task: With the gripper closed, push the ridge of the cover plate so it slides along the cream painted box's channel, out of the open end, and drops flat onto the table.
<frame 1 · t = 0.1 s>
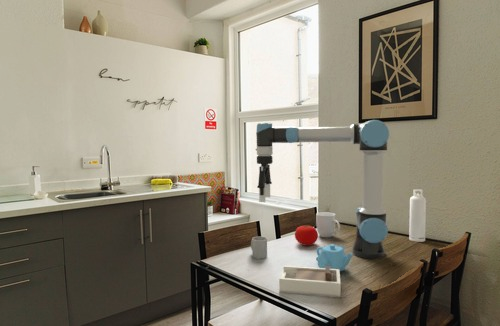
hand: (265, 199, 168), 28 cm above the table, fingers open, 13 cm apart
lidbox: (310, 287, 134), on the table
tomato: (306, 244, 189), on the table
teapot: (333, 271, 150), on the table
cover plate: (314, 278, 133), point 3 cm above the table, touching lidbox
bottle: (417, 240, 195), on the table
mug: (327, 236, 204), on the table
cup: (257, 256, 171), on the table
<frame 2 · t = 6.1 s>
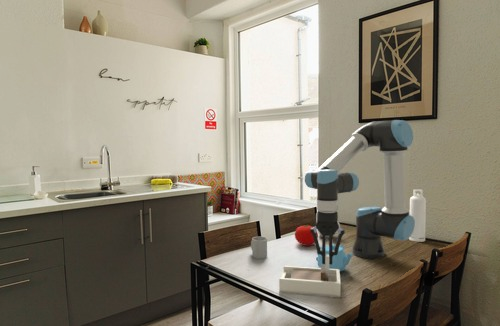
hand: (327, 272, 132), 6 cm above the table, fingers closed
cover plate: (309, 278, 134), point 4 cm above the table, touching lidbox
everything else where it was.
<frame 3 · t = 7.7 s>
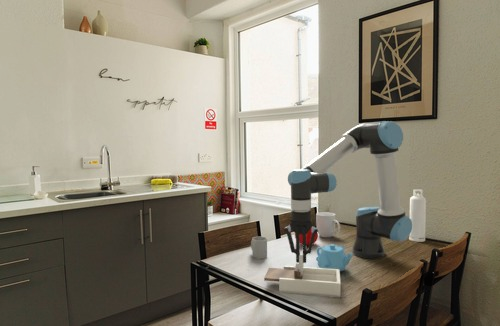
hand: (301, 270, 134), 6 cm above the table, fingers closed
cover plate: (284, 276, 136), point 4 cm above the table, touching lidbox
everything else where it was.
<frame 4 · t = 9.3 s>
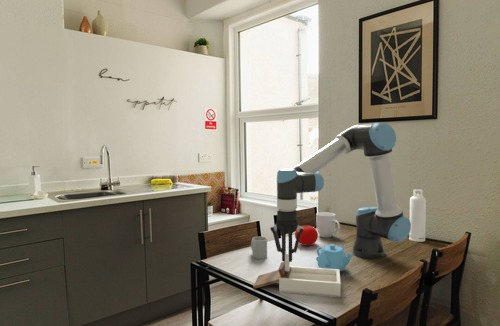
hand: (287, 269, 135), 6 cm above the table, fingers closed
cover plate: (273, 278, 137), point 2 cm above the table, tilted 20°, touching gripper, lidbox
everything else where it was.
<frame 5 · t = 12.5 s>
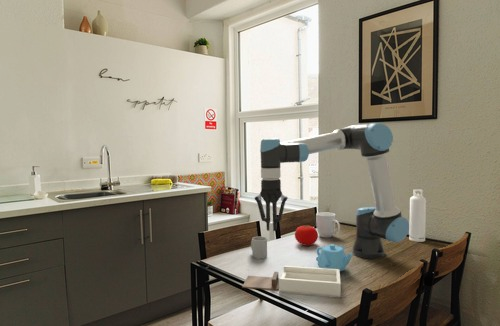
hand: (271, 238, 136), 18 cm above the table, fingers closed
cover plate: (262, 284, 138), on the table
everything else where it was.
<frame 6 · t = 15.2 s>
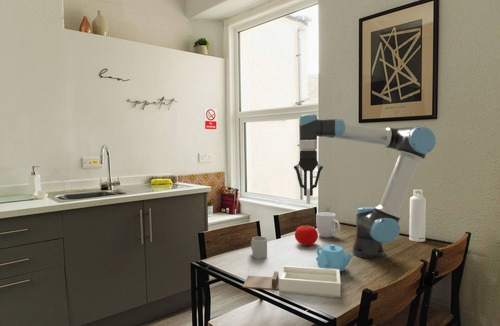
hand: (308, 203, 155), 28 cm above the table, fingers closed
nothing on the table moved.
at the end: cover plate inside the target area on the table beside the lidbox (4.9 cm from its centre), on the table; cover plate moved 20.6 cm from its start; the gripper is holding nothing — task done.
